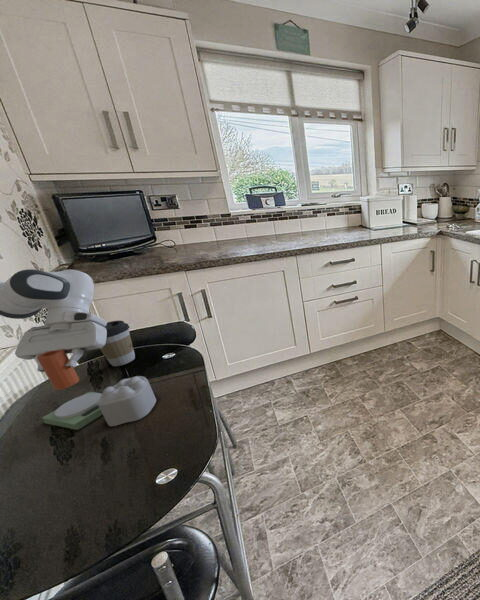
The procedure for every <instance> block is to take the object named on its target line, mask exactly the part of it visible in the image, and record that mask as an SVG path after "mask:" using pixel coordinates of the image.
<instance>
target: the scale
mask: <svg viewBox="0 0 480 600" xmlns="http://www.w3.org/2000/svg"><path fill="white" fill-rule="evenodd" d="M102 395H103V392H102V393H101V392H94V391H88V392H86V393H84V394H82V395H79V396H77V397H75V398H73V399H69V400H68V401H67V402H65V403H63V404H61V405H60V406H59V407H58V408H56V409H55V410H53V411H51V412H49V413H48V414H46V415H44V416H42V417H41V419H42V421H43V423H44V424H47V425H51V426H57V427H61V428H66V429H72V430H76V431H79V430H80V429H82V428H84V427H85V426H87V425H88V424H90V423H92V422H93V421H95V420H96V419H98V418H100V417H101V416H103V414H102V412H101V410H100V408H99V406H98V404H97V402H98V400H99V399H100V397H101V396H102Z"/></svg>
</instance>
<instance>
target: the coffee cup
mask: <svg viewBox="0 0 480 600" xmlns="http://www.w3.org/2000/svg"><path fill="white" fill-rule="evenodd" d="M130 327H131V326H129V323H125V321H123V320H111V321H107V325H106V327H105V328H106V330H107V338H106V343H105V345H104V346H103V347H102V348H101V349H99V350H100V352H101V353H102V355H104V356H105V359H106V360H107V361H108V363H109V364H110V365H111V366H112V367H120V366H124V365H127V364H129V363H131V362H133V361H134V360H135V359H136V353H135V350H134V346H133V341H132V338H131V334H130Z"/></svg>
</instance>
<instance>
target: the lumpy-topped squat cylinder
mask: <svg viewBox="0 0 480 600" xmlns="http://www.w3.org/2000/svg"><path fill="white" fill-rule="evenodd" d="M102 394H103V395H102V396H101V397H100V399H99V400H98V402H97V404H98V406H99V408H100V410H101V412H102V414H103V415H102V416H103V418H104V420H105V421H106V423H107V426H109V427H116V426H119V425H122V424H125V423H131V422H137V421H139V420H141V419H143V418H144V417H146V416H147V415H148V414H149V413H150V412H151V411H152V409H153V408H154V406H155V405H156V403H157V398H156V395H155V394H154V391H153V389H152V387H151V384H150V382H149V380H148V379H147V378H146V376H141V375H136V376H131V377H127V378H123V379H121V380H119V381H118V382H117V383H116V384H114V385H111V386H107V387H105V388H104V389H103V391H102Z"/></svg>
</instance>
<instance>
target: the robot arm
mask: <svg viewBox="0 0 480 600" xmlns="http://www.w3.org/2000/svg"><path fill="white" fill-rule="evenodd" d="M94 294H95V283H94V280H93V278H92V277H91V276H90V275H89V274H87V273H85V272H83V271H81V270H77V269H64V270H57V271H45V270H39V269H33V268H31V269H23V270H20V271H17V272H15V273H14V274H13V275H12V276H10V277H9V278H8V279H7V280H6V281H5V282H4V281H0V316H2V317H4V318H9V319H14V320H15V319H16V320H20V319H21V320H22V319H29V318H31V317H34V316H35V315H37V314H38V313H40V311H41V310H42V309H43V308H45V309H46V310H47V313H46V317H45V320H44V324H43V325H41V326H32V327H30V328H29V329H28V330H26V331H24V333H23V335H22V336H21V338H20V340H19V342H18V343H17V346H16V349H15V351H14V355H15V356H16V357H17V358H18V359H22V360H27V361H29V360H35V362H36V364H37V372H40V373H45V371H44V369H43V368H42V366H41V364H40V362H39V361H38V359H37V357H38V356H39V355H41V354H43V353H45V352H48V351H55V350H61V349H64V351H65V353H66V355H69V354H72V355H71V356H70V358H68V359H69V360H66V362H65V363H66V364H65V367H68V368H70V367H73V368H75V367H77V364H78V361H79V360H80V359H81V358H82V356H83V355H84V352H87V351H93V350H95V351H96V350H100V349H101V348H102V347H103V346H104V345H105V343H106V338H107V330H106V328H105V327H106V325H107V322H108V320H106V319H104V318H102V317H100V316H98V315H96V314H93V313H92V312H91V311H90V307H91V305H92V304H93V300H94Z"/></svg>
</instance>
